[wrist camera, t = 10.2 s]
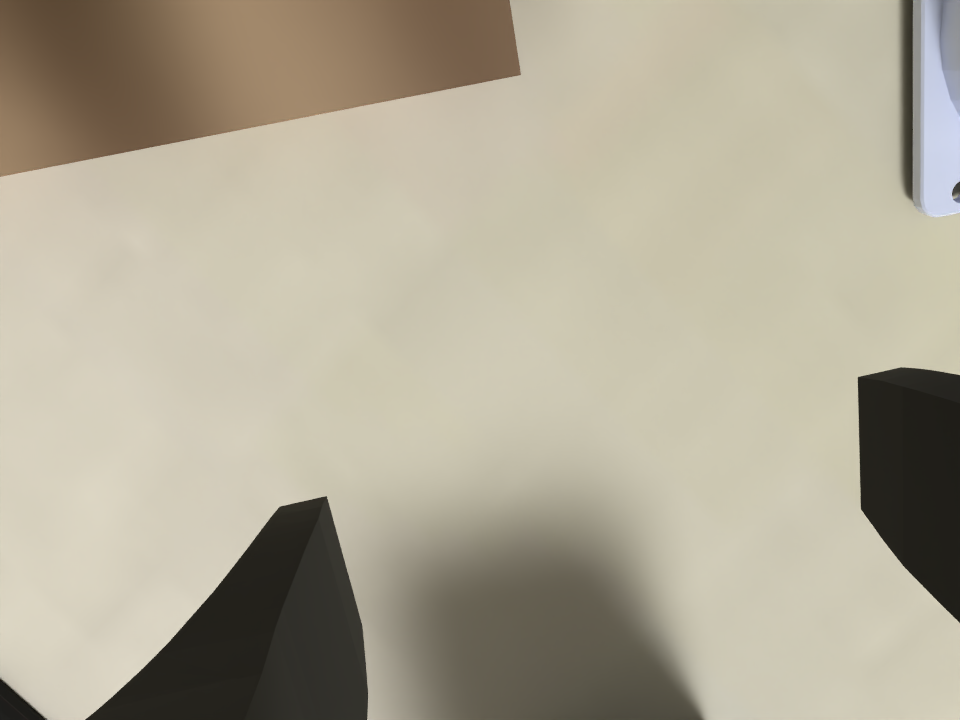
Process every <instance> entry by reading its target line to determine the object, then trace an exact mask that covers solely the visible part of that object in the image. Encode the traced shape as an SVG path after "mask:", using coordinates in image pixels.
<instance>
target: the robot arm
mask: <svg viewBox="0 0 960 720" xmlns="http://www.w3.org/2000/svg"><path fill="white" fill-rule="evenodd" d="M958 182H960V0H913V202H914V206H915V207H916V209H917V210H918V211H919V212H921V213H923V214H925V215H928V216H932V217H942V216H947V215H952V214H956V213H960V194H959V196H958V197H957V198H955V199H953V197H952V191H953V188H954V186H955V185H956V184H957V183H958ZM858 402H859V445H860V487H861V510H862V511H863V512H864V514H865V515H866V517H867V518H868V519H869V521H870V522H871V524H872V525H873V526H874V528H875V529H876V531H877V532H878V533H879V535H880V536H881V538H882V539H883V540H884V542H885V543H886V544H887V546H888V547H889V548H890V549H891V551H892V552H893V553H894V554H895V556H896V557H897V558H898V560H899V561H900V562H901V563H902V565H903V566H904V567H905V568H906V569H907V570H908V571H909V572H910V573H911V574H912V575H913V576H914V577H915V578H916V579H917V580H918V581H919V582H920V583H921V584H922V585H923V587H924V588H925V589H926V590H927V591H928V592H929V593H930V594H931V595H932V596H933V597H934V598H935V599H936V600H937V601H938V602H939V603H940V604H941V605H942V606H943V607H944V608H945V609H946V610H947V611H948V612H949V613H950V614H951V615H952V616H953V617H954V618H956V619H957V620H958V621H959V622H960V375H956V374H950V373H944V372H939V371H932V370H925V369H916V368H897V369H892V370H888V371H883V372H879V373H874V374H870V375H865V376H861V377H858ZM367 710H368V687H367V674H366V662H365V651H364V640H363V629H362V623H361V620H360V616H359V612H358V609H357V605H356V601H355V598H354V594H353V590H352V587H351V583H350V580H349V576H348V572H347V569H346V565H345V561H344V558H343V554H342V550H341V547H340V543H339V540H338V536H337V532H336V529H335V525H334V521H333V518H332V514H331V510H330V507H329V503H328V499H327V496H326V497H321V498H317V499H312V500H308V501H303V502H299V503H294V504H290V505H285V506H281V507H279V508H278V510H277V511H276V512H275V513H274V514H273V516H272V517H271V518H270V519H269V521H268V522H267V523H266V525H265V526H264V527H263V529H262V530H261V531H260V533H259V534H258V535H257V537H256V538H255V539H254V541H253V542H252V543H251V545H250V546H249V547H248V549H247V550H246V551H245V553H244V554H243V555H242V556H241V558H240V559H239V560H238V561H237V563H236V564H235V565H234V567H233V568H232V569H231V570H230V572H229V573H228V574H227V575H226V577H225V578H224V579H223V581H222V582H221V583H220V584H219V586H218V587H217V588H216V589H215V591H214V592H213V593H212V594H211V595H210V596H209V598H208V599H207V600H206V601H205V602H204V603H203V604H202V605H201V607H200V608H199V609H198V610H197V611H196V612H195V613H194V615H193V616H192V617H191V618H190V619H189V620H188V621H187V622H186V624H185V625H184V626H183V627H182V628H181V629H180V630H179V631H178V633H177V634H176V635H175V636H174V637H173V638H172V639H171V641H170V642H169V643H168V644H167V645H166V646H165V647H164V648H163V649H162V650H161V651H160V652H159V653H158V654H157V655H156V656H155V657H154V658H153V659H152V660H151V661H150V662H149V663H148V664H147V665H146V666H145V667H144V668H143V669H142V670H141V671H140V672H139V673H138V674H137V675H136V676H134V677H133V678H132V679H131V680H130V681H129V682H128V683H127V684H126V685H125V686H124V687H123V688H121V689H120V690H119V691H118V692H117V693H116V694H115V695H114V696H113V697H112V698H111V699H109V700H108V701H107V702H106V703H105V704H104V705H103V706H101V707H100V708H99V709H98V710H97V711H96V712H94V713H93V714H92V715H91V716H89V717H88V718H87V719H86V720H367Z"/></svg>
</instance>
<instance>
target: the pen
mask: <svg viewBox="0 0 960 720" xmlns="http://www.w3.org/2000/svg"><path fill="white" fill-rule="evenodd" d="M0 720H45V719H44V718H43V717H42V716H40V715H39V714H38V713H37V712H36V711H35V710H34V709H33V708H31V707H30V706H29V705H28V704H27V703H26V702H25V701H24V700H22V699H21V698H20V697H19V696H18V695H17V694H16V693H15V692H13V691H12V690H11V689H10V688H9V687H8V686H7V685H6V684H4V683H3V682H2V681H1V680H0Z"/></svg>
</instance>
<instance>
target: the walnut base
mask: <svg viewBox="0 0 960 720" xmlns="http://www.w3.org/2000/svg"><path fill="white" fill-rule="evenodd" d="M518 75H521V73H520V66H519V60H518V53H517V47H516V40H515V34H514V27H513V21H512V14H511V8H510V1H509V0H0V177H1V176H6V175H11V174H16V173H22V172H27V171H32V170H37V169H42V168H47V167H52V166H57V165H62V164H68V163H73V162H78V161H83V160H88V159H93V158H98V157H103V156H108V155H114V154H119V153H124V152H129V151H134V150H139V149H144V148H149V147H155V146H160V145H165V144H170V143H175V142H180V141H185V140H190V139H195V138H201V137H206V136H211V135H216V134H221V133H226V132H231V131H236V130H241V129H247V128H252V127H257V126H262V125H267V124H272V123H277V122H282V121H288V120H293V119H298V118H303V117H308V116H313V115H318V114H323V113H328V112H334V111H339V110H344V109H349V108H354V107H359V106H364V105H369V104H374V103H380V102H385V101H390V100H395V99H400V98H405V97H410V96H415V95H420V94H426V93H431V92H436V91H441V90H446V89H451V88H456V87H461V86H467V85H472V84H477V83H482V82H487V81H492V80H497V79H502V78H507V77H513V76H518Z"/></svg>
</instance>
